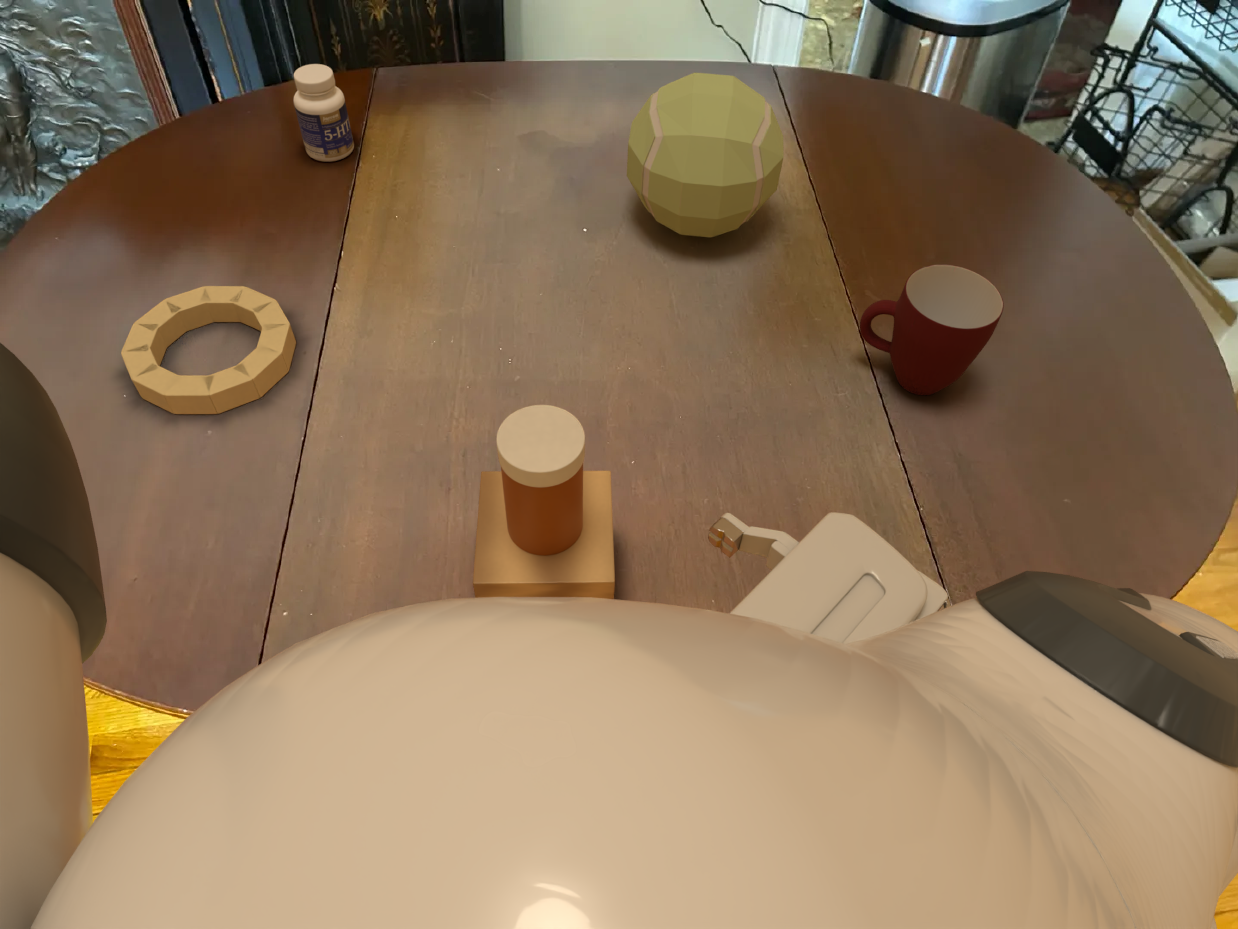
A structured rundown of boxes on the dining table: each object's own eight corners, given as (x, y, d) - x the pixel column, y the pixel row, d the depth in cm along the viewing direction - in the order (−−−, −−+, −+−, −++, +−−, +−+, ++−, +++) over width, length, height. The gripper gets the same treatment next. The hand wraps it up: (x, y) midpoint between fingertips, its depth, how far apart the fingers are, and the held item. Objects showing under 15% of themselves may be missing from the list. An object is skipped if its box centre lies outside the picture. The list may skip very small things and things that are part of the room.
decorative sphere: (618, 257, 92) (624, 120, 80) (633, 171, 101) (640, 37, 89) (767, 271, 91) (795, 136, 79) (768, 183, 100) (793, 51, 88)
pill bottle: (335, 168, 99) (317, 91, 92) (296, 154, 100) (275, 78, 93) (364, 143, 102) (349, 68, 95) (326, 131, 103) (308, 55, 96)
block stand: (484, 649, 64) (472, 583, 57) (490, 542, 70) (480, 471, 63) (611, 647, 65) (614, 582, 58) (607, 541, 70) (610, 470, 63)
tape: (113, 414, 76) (101, 395, 75) (158, 305, 85) (149, 285, 83) (277, 414, 77) (270, 395, 75) (306, 305, 86) (300, 286, 84)
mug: (842, 396, 81) (870, 312, 73) (850, 335, 86) (878, 250, 78) (962, 421, 79) (1004, 338, 72) (964, 358, 84) (1004, 273, 76)
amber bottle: (504, 557, 59) (493, 472, 52) (507, 492, 62) (498, 404, 55) (584, 556, 59) (585, 472, 52) (584, 492, 62) (584, 404, 55)
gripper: (988, 578, 49) (782, 439, 54) (756, 871, 39) (534, 665, 45) (950, 634, 54) (765, 501, 59) (736, 905, 44) (538, 716, 50)
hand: (664, 573), depth 52 cm, fingers open, 8 cm apart
